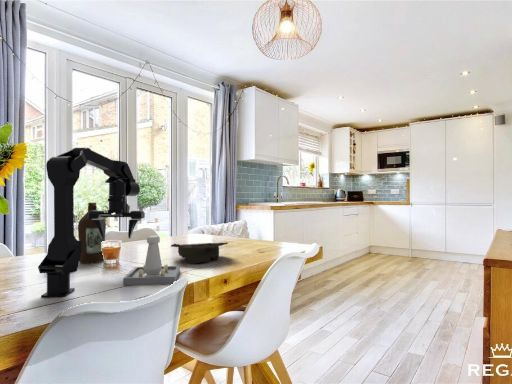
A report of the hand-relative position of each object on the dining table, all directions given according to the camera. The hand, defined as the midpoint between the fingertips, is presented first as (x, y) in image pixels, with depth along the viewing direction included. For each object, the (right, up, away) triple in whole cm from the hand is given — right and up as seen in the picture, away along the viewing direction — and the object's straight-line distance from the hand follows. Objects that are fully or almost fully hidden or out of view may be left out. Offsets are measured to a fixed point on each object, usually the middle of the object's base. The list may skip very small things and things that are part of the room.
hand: (116, 238), depth 120 cm
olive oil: (-19, -13, +19) cm, 30 cm away
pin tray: (+16, -13, -8) cm, 22 cm away
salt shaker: (+16, -11, -8) cm, 21 cm away
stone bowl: (+26, -13, +24) cm, 38 cm away
